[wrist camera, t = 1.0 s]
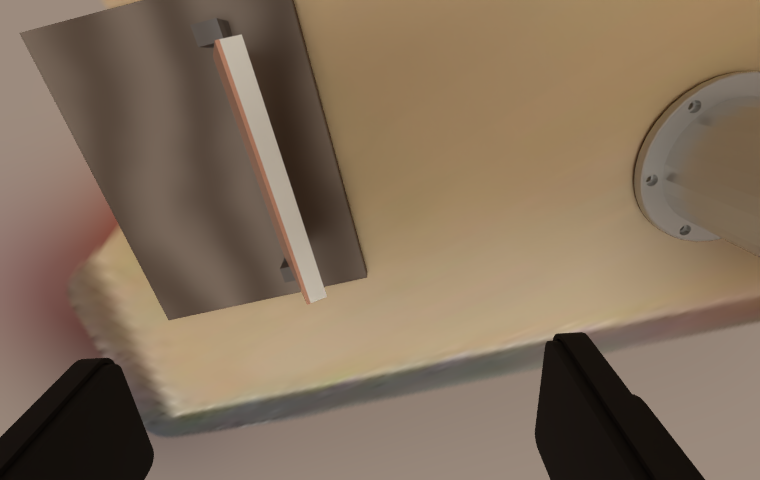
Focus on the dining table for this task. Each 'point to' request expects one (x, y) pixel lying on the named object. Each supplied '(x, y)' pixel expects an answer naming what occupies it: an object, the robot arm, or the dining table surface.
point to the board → (199, 145)
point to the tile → (267, 162)
